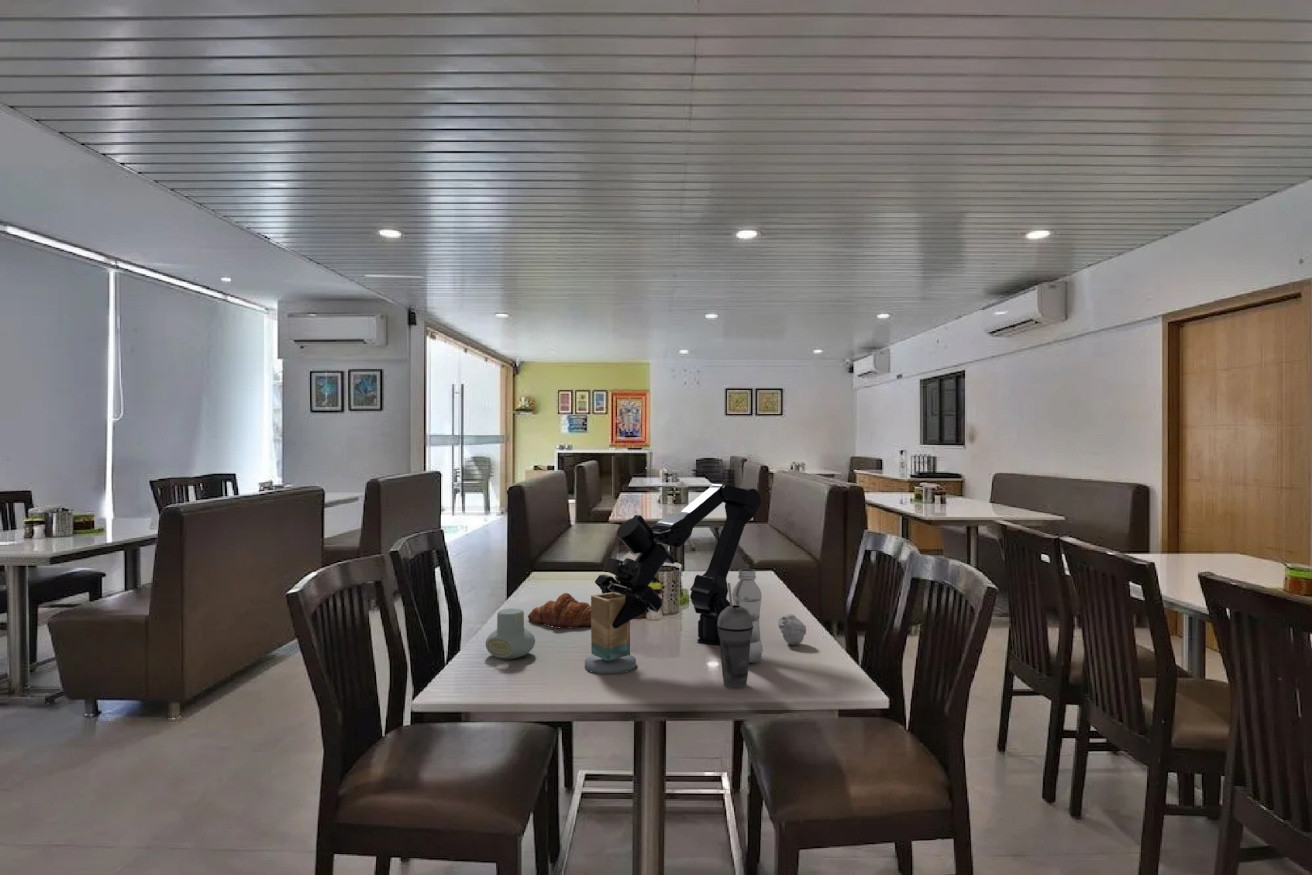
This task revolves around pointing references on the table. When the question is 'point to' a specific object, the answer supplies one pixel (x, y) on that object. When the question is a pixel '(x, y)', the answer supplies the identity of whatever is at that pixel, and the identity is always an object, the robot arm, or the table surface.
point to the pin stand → (610, 664)
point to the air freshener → (510, 636)
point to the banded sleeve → (608, 627)
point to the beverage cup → (735, 644)
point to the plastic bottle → (750, 608)
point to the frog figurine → (792, 629)
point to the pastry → (562, 613)
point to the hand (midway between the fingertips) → (605, 624)
